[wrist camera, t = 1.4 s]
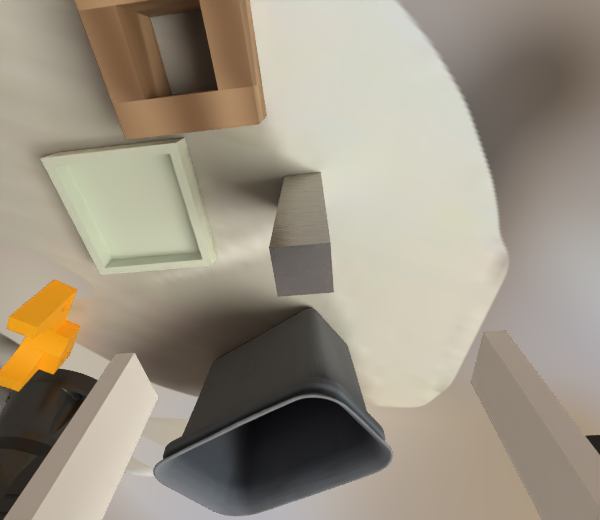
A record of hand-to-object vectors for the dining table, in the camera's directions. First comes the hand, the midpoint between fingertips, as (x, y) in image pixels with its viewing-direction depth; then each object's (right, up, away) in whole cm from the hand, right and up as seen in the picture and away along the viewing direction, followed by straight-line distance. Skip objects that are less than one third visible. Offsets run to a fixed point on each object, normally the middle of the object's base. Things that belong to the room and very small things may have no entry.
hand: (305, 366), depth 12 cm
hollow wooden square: (-9, +20, +12) cm, 25 cm away
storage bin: (-2, -9, +30) cm, 31 cm away
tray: (-16, +9, +19) cm, 26 cm away
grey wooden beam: (0, +11, +18) cm, 21 cm away
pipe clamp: (-30, -3, +27) cm, 41 cm away
